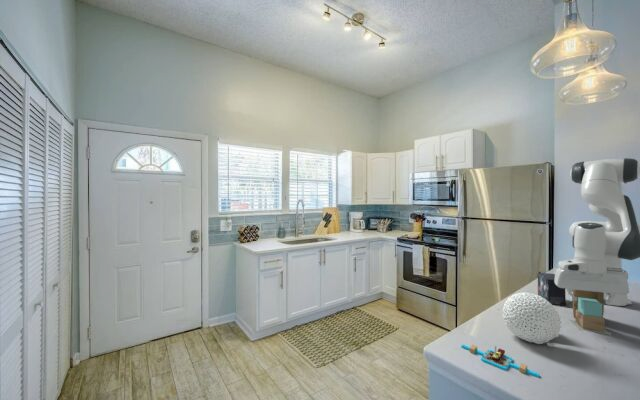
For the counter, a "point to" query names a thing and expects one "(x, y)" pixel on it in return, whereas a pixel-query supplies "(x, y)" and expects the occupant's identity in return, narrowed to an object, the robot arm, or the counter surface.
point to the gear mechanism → (499, 359)
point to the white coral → (531, 317)
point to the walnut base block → (590, 322)
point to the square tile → (589, 330)
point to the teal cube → (590, 307)
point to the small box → (550, 289)
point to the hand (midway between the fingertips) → (589, 302)
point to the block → (590, 295)
